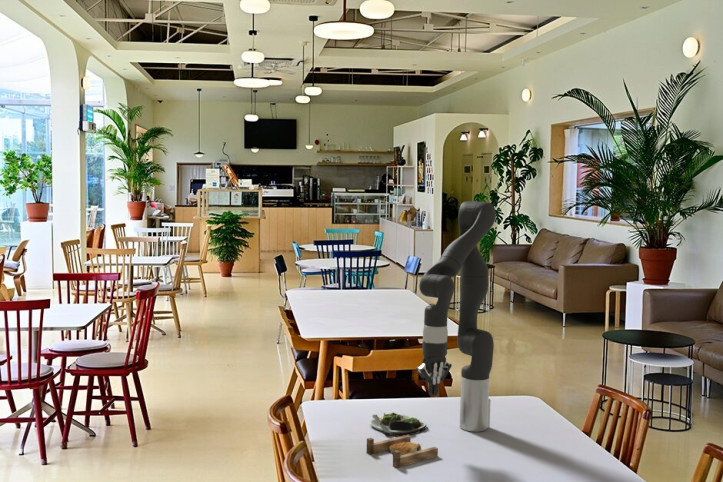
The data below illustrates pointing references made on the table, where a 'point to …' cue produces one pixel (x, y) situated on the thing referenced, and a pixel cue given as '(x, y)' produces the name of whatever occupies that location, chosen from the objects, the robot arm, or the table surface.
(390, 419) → the salad plate
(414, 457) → the pair of wooden bars
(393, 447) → the pastry
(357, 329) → the table surface
